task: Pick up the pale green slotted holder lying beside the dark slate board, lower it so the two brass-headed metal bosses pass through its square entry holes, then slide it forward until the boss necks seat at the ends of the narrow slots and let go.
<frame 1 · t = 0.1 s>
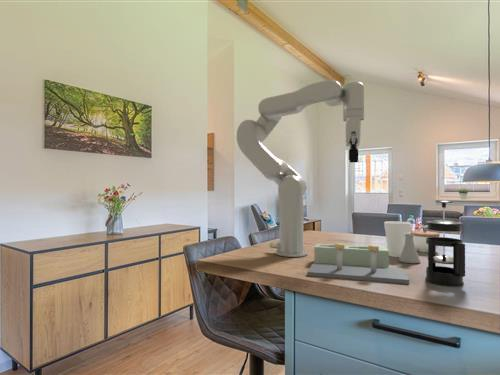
hand: (353, 161, 125), 37 cm above the worktop, tool pointing down, fingers open, 9 cm apart
french press: (445, 282, 93), on the worktop
lidded jar: (424, 251, 139), on the worktop
foam cup: (397, 256, 129), on the worktop
pale green slotted holder: (350, 264, 115), on the worktop
board: (356, 274, 102), on the worktop
flask: (409, 262, 119), on the worktop
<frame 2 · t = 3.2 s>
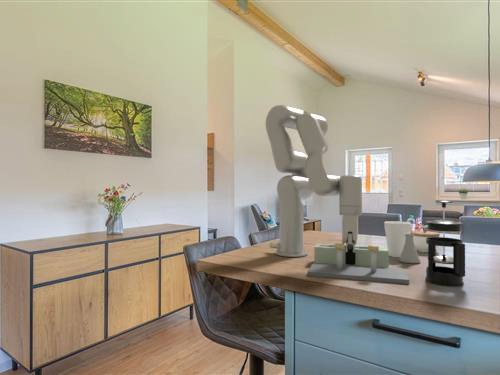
hand: (350, 261, 115), 1 cm above the worktop, tool pointing down, fingers closed on pale green slotted holder, 7 cm apart
pale green slotted holder: (350, 264, 115), on the worktop, touching gripper
everything else where it was.
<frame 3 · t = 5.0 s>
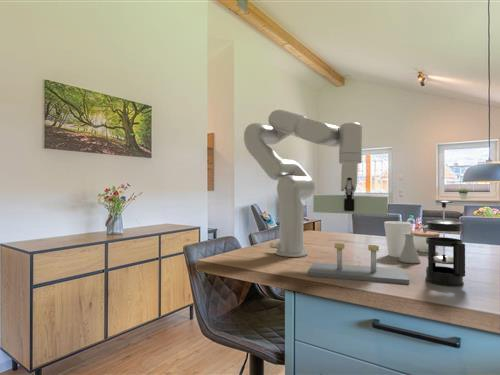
hand: (349, 209, 115), 19 cm above the worktop, tool pointing down, fingers closed on pale green slotted holder, 7 cm apart
pale green slotted holder: (349, 212, 115), point 18 cm above the worktop, touching gripper
everything else where it was.
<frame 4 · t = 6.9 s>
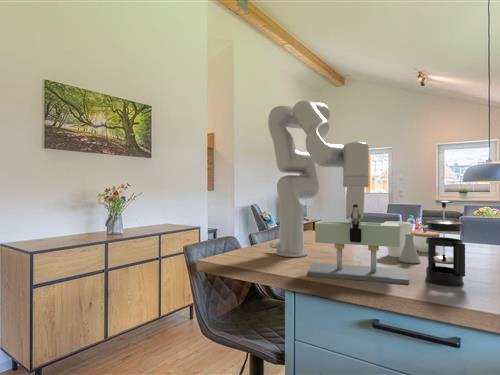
hand: (355, 239, 102), 11 cm above the worktop, tool pointing down, fingers closed on pale green slotted holder, 7 cm apart
pale green slotted holder: (356, 242, 102), point 10 cm above the worktop, touching gripper
everything else where it was.
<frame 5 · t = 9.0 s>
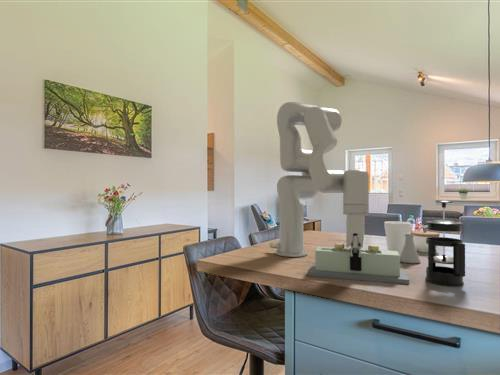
hand: (355, 266, 102), 2 cm above the worktop, tool pointing down, fingers closed on pale green slotted holder, 7 cm apart
pale green slotted holder: (356, 270, 102), point 1 cm above the worktop, touching board, gripper
everything else where it was.
when the fingers open (2 cm above the worktop, at t = 10.6 s): pale green slotted holder stays where it is, resting on board.
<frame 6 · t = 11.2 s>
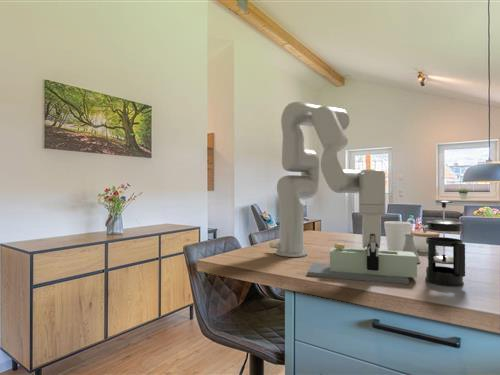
hand: (372, 266, 100), 3 cm above the worktop, tool pointing down, fingers open, 9 cm apart
pale green slotted holder: (371, 271, 101), point 1 cm above the worktop, touching board
everything else where it was.
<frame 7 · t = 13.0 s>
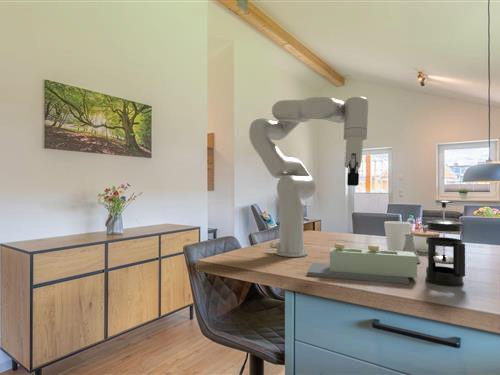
hand: (353, 185, 112), 28 cm above the worktop, tool pointing down, fingers open, 9 cm apart
nothing on the worktop moved.
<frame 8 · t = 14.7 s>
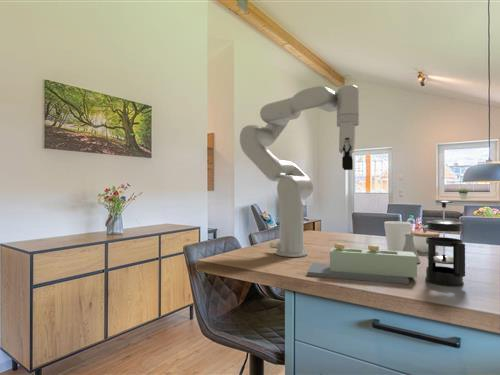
hand: (347, 169, 118), 33 cm above the worktop, tool pointing down, fingers open, 9 cm apart
nothing on the worktop moved.
at the end: pale green slotted holder 0.4 cm from the target spot on the board, point 1.2 cm above the board's base; pale green slotted holder tilted 0°; the gripper is holding nothing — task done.
